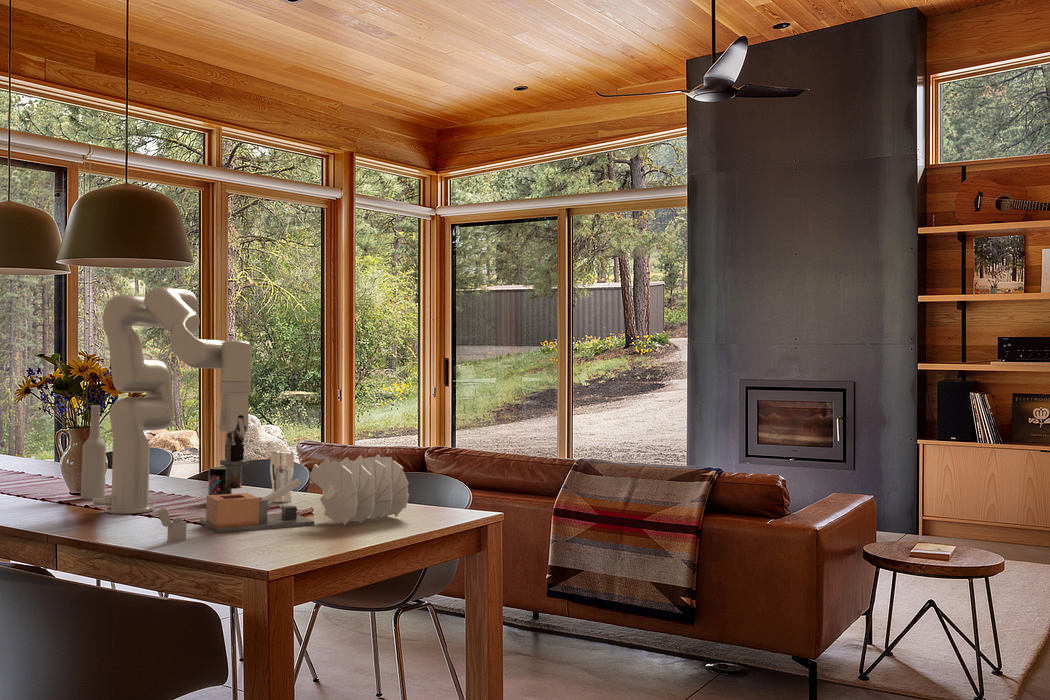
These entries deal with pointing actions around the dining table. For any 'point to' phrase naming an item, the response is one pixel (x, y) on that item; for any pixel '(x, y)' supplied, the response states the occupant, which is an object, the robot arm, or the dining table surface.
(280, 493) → the latch lever
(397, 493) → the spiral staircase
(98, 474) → the bottle
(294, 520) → the base
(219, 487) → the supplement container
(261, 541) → the dining table surface
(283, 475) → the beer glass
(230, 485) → the steel pin
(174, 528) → the lighter
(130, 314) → the robot arm
